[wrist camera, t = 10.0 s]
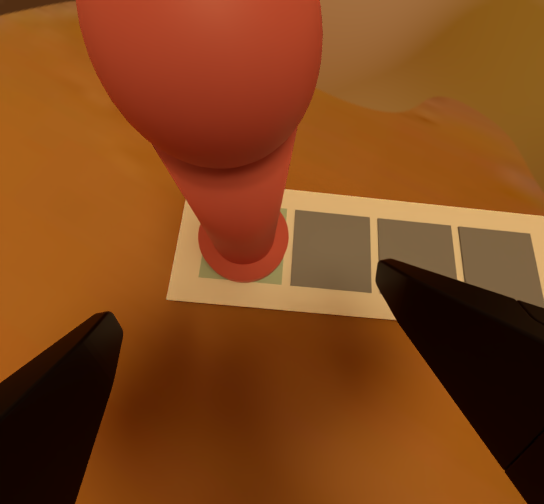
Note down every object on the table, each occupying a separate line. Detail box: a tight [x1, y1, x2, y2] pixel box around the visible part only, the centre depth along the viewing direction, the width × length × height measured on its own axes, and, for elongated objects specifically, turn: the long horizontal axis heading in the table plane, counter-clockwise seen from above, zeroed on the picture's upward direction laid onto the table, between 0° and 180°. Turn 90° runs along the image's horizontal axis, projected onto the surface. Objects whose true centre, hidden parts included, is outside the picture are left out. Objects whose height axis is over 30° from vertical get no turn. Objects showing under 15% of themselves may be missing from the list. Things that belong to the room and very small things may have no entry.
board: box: [166, 189, 544, 320], centre depth 17 cm, size 27×9×1 cm, turn 85°
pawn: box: [76, 0, 323, 283], centre depth 9 cm, size 6×6×14 cm
